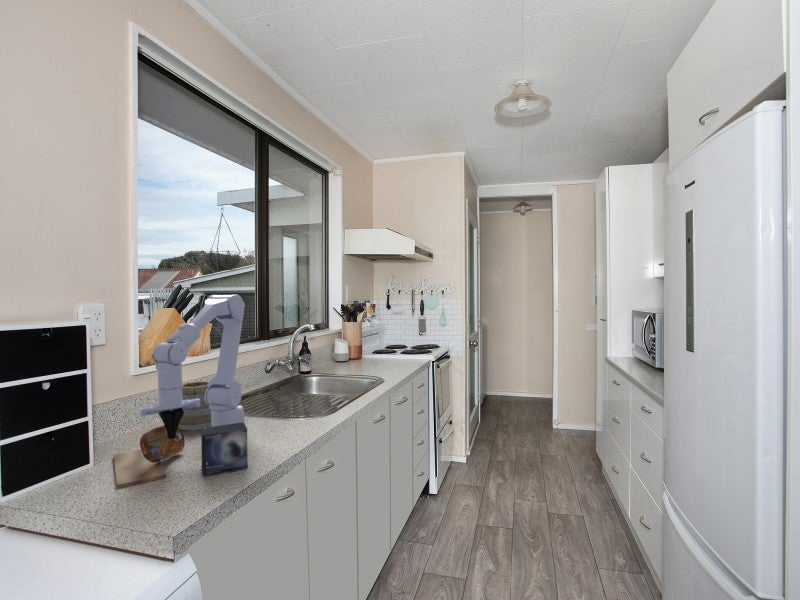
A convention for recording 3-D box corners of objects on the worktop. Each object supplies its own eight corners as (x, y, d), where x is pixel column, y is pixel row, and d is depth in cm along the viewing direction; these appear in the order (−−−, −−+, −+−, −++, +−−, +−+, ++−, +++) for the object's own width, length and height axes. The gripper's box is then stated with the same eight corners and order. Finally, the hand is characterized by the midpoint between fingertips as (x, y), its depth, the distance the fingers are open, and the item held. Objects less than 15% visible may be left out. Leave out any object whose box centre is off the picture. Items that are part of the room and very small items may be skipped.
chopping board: (155, 449, 128) (154, 446, 128) (165, 477, 108) (165, 474, 108) (113, 457, 122) (113, 454, 122) (117, 488, 103) (117, 484, 103)
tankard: (182, 433, 143) (181, 386, 142) (171, 425, 152) (170, 381, 152) (243, 420, 156) (242, 377, 156) (230, 413, 165) (229, 373, 165)
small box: (203, 477, 108) (201, 434, 108) (201, 468, 114) (200, 427, 113) (248, 469, 113) (247, 427, 112) (244, 460, 118) (243, 421, 118)
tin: (154, 463, 111) (145, 430, 112) (143, 467, 111) (134, 434, 113) (188, 448, 126) (180, 420, 127) (178, 452, 126) (170, 423, 127)
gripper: (194, 381, 127) (195, 428, 127) (136, 389, 118) (137, 440, 118) (202, 384, 122) (203, 434, 122) (142, 393, 112) (143, 447, 113)
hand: (171, 437), depth 120 cm, fingers closed
